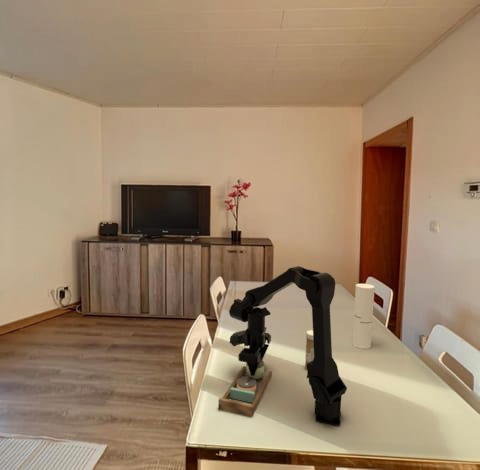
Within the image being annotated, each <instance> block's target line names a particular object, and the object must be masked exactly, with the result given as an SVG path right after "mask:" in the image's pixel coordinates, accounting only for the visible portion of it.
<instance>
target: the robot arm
mask: <svg viewBox="0 0 480 470" xmlns="http://www.w3.org/2000/svg"><path fill="white" fill-rule="evenodd" d="M293 284H295V285H296V287H297V288H298V289H300V290H303V291H304V292H305V297H306V299H307V300H308V302H309V305H310V306H311V316H312V330H313V343H314V359H313V360H312V361H311V362H309V363H307V369H306V371H307V375H306V379H308V383H309V385H310V388H311V392H312V395H313V399H314V415H315V419H314V420H315V422H318V423H323V424H328V425H332V426H337V427H339V426H341V420H342V419H341V418H342V411H341V410H342V396H343V395H345V394H346V392H347V389H348V387H347V385H346V384H345V382H344V381H343V379H342V378H341V376H340V374H339V367H338V365H337V363H336V361H335V360H334V358H333V354H332V353H333V351H332V349H333V348H332V326H331V304H332V302H333V299H334V297H335V292H336V291H335V290H336V281H335V277H333V276H332V275H331V274H330V273H328V272H320V271H317V270H312V269H308V268H304V267H303V266H300V265H298V266H297V265H296V266H293V267H289V268H288V269H287V270H286V271H284V272H282V273H280V275H278V276H276V277H275V278H273V279H272V280H269V281H268V282H267V283H265V284H264V285H262V286H257V287H255V288H251V289H248V290H247V291H246V292H245V293H244V297H243V298H242V299H240V298H236V299H233V303H232V304H231V306H230V307H229V310H228V314H229V316H230V318H232V319H233V320H234V319H235V320H238V321H240V322H242V323H246V322H247V328H246V330H245V329H244V330H239V331H236V332H233V333H232V334H231V335H230V336H229V344H231V345H232V347H236V346H238V345H239V346H240V345H243V346H244V348H243V349H241V350H240V352H239V353H238V357H237V358H238V360H237V361H239V362H242V363H247V364H248V367H249V370H250V374H251V376H254V375H255V373H256V370H257V368H258V365H259V363H260V360H263V359H264V357H265V355H266V353H267V350H268V348H269V346H270V344H271V341H272V335H271V334H270V333H269V332H267V326H266V317H268V316H270V315H271V314H272V313H271V312H270V310H269V309H267V308H268V307H266V306H264V305H266V304H267V303H269V302H271V300H272V299H273V298H274V296H275V295H276V294H277V293H279V292H281V291H283V290H285V289H286V288H288V287H289V286H291V285H293ZM260 306H264V307H262V308H261V307H260ZM263 361H264V360H263Z"/></svg>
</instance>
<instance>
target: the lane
mask: <svg viewBox="0 0 480 470" xmlns="http://www.w3.org/2000/svg"><path fill="white" fill-rule="evenodd" d="M242 366H243V367H242V368H241V370H240V371H239V372H238V374H237V375H236V376H235V378H234V379H233V381H232V383H231V385H229V387H228V389H227V390H226V391H225V393H224V395H223V396H222V397H219V398H218V410H219V411H223V412H228V413H232V414H236V415H241V416H247V417H249V418H251V417H253V416H254V414H255V411H256V410H257V407H258V405H259V404H260V401H261V399H262V397H263V395H264V393H265V391H266V389H267V386H268V385H269V383H270V381H271V379H272V375H273V374H272V373H273V372H272V370H268V371H267V373H266V376H265V377H264V379H263V381H262V383H261V385H260V387H259V389H258V391H257V392H256V395H255V399H254V401H253V403H246V402H243V401H242V402H241V401H239V400H234V399H231V398H230V389H231V387H233V388H237V380H238V379H239V378H240V377H245V375H246V366H245V365H242Z"/></svg>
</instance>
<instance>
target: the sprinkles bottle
mask: <svg viewBox="0 0 480 470" xmlns="http://www.w3.org/2000/svg"><path fill="white" fill-rule="evenodd" d="M305 337H306V342H305V345H306V346H305V357H304V358H305V362H304V363H305V364H304V369H305V370H307V363H309V362H311V361H312V360H313V359H314V343H313V329H311V330H310V329H309V330H307V331H306V335H305Z"/></svg>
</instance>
